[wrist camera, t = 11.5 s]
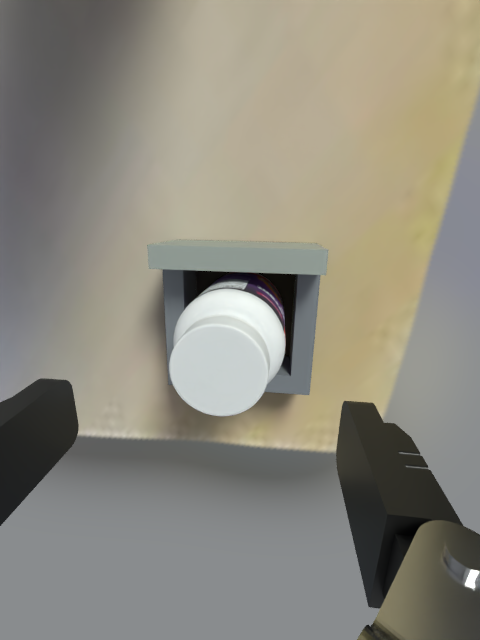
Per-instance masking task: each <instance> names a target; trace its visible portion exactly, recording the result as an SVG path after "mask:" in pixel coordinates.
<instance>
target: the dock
mask: <svg viewBox="0 0 480 640" xmlns="http://www.w3.org/2000/svg"><path fill="white" fill-rule="evenodd" d="M147 247H148V262H149V269H163V288H164V307H165V326H166V346H167V365H168V384H169V385H173V384H172V381H171V377H170V372H169V362H170V357H171V353H172V350H173V348H174V343H173V339H174V331H175V327H176V324H177V321H178V319H179V317H180V316H181V314H182V312H183V311H184V310H185V309H186V307H187V306H188V305H189V304H190V303H191V302H192V301H193V300H194V299H195V298H196V270H197V271H224V272H252V273H280V274H295V281H294V296H293V310H292V325H291V339H290V354H289V356H284V358H283V362H282V364H281V367H280V369H279V371H278V372H277V374H276V375H275V377H274V378H273V379H272V380H271V381H270V382H269V383H268V384H267V386H266V389H265V391H264V392H274V393H287V394H301V395H309V393H310V383H311V372H312V361H313V350H314V339H315V328H316V317H317V306H318V295H319V284H320V275H326V270H327V259H328V249H326V248H324V247H322V246H321V245H319V244H317V243H291V242H252V241H214V240H172V241H166V242H161V243H155V244H149V245H147Z"/></svg>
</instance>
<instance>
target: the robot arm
mask: <svg viewBox="0 0 480 640" xmlns="http://www.w3.org/2000/svg"><path fill="white" fill-rule="evenodd" d="M77 434H78V419H77V413H76V407H75V401H74V395H73V389H72V385H71V384H70V382H69V381H67V380H57V379H39V380H37V381H35V382H34V383H32V384H31V385H29V386H28V387H26V388H25V389H24V390H22V391H21V392H19V393H18V394H16V395H15V396H13V397H12V398H9V399H7V400H5V401H2V402H0V526H1V524H2V523H3V522H4V521H5V520H6V519H7V518H8V517H9V516H10V514H11V513H12V512H13V511H14V510H15V509H16V508H17V507H18V506H19V505H20V503H21V502H22V501H23V500H24V499H25V498H26V497H27V496H28V494H29V493H30V492H31V491H32V490H33V489H34V488H35V487H36V486H37V484H38V483H39V482H40V481H41V480H42V479H43V478H44V477H45V475H46V474H47V473H48V472H49V471H50V470H51V469H52V468H53V467H54V465H55V464H56V463H57V462H58V461H59V460H60V459H61V458H62V456H63V455H64V454H65V453H66V452H67V451H68V450H69V449H70V448H71V446H72V445H73V444H74V442H75V440H76V437H77ZM336 457H337V459H336V460H337V470H338V475H339V479H340V484H341V488H342V493H343V497H344V502H345V506H346V510H347V514H348V519H349V523H350V528H351V532H352V536H353V541H354V545H355V550H356V554H357V558H358V562H359V566H360V571H361V575H362V579H363V584H364V589H365V593H366V597H367V602H368V606H369V607H373V608H380V610H379V613H378V615H377V617H376V619H375V621H374V622H373V624H372V625H371V627H370V626H369V625H366V627H365V628H364V629H363V630H362V632H361V634H360V635H359V637H358V639H357V640H480V534H478V533H476V532H475V531H473V530H471V529H469V528H467V527H465V526H463V524H462V523H461V521H460V519H459V518H458V516H457V514H456V513H455V511H454V509H453V507H452V506H451V504H450V503H449V501H448V499H447V497H446V496H445V494H444V492H443V491H442V489H441V487H440V486H439V484H438V482H437V481H436V479H435V477H434V475H433V474H432V472H431V471H430V470H428V465H427V464H426V462H425V460H424V459H423V457H422V456H420V452H419V450H418V449H417V447H416V445H415V443H414V442H413V440H412V438H411V437H410V436H409V435H407V434H406V433H405V432H404V431H403V430H402V429H400V428H399V427H398V426H397V425H396V424H394V423H384V422H383V420H382V418H381V416H380V414H379V413H378V411H377V409H376V407H375V405H374V404H373V403H367V402H353V401H344V402H343V405H342V411H341V419H340V426H339V434H338V442H337V452H336Z"/></svg>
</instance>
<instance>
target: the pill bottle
mask: <svg viewBox="0 0 480 640" xmlns="http://www.w3.org/2000/svg"><path fill="white" fill-rule="evenodd" d="M173 343H174V348H173V350H172V353H171V357H170V362H169V372H170V377H171V381H172V384H173V386H174V388H175V390H176V391H177V393H178V394H179V396H180V397H181V398H182V399H183V400H184V401H185V402H186V403H187V404H189V405H190V406H191V407H193V408H194V409H196V410H198V411H200V412H203V413H205V414H209V415H213V416H231V415H236V414H239V413H241V412H244V411H246V410H248V409H249V408H251V407H252V406H253V405H254V404H255V403H256V402H257V401H258V400H259V399H260V398H261V396H262V395H263V393H264V391H265V389H266V386H267V384H268V383H269V382H270V381H271V380H272V379H273V378H274V377H275V375H276V374H277V372H278V371H279V369H280V367H281V364H282V362H283V358H284V354H285V346H286V338H285V316H284V305H283V301H282V298H281V296H280V293H279V292H278V290H277V288H276V287H275V286H274V285H273V283H272V282H270V281H269V280H268V279H267V278H265V277H264V276H262V275H260V274H258V273H252V272H231V273H228V274H226V275H224V276H222V277H220V278H219V279H217V280H216V281H215V282H214V283H213V284H211V285H210V286H209V287H208V288H207V289H206V290H205V291H203V292H202V293H201V294H200V295H199V296H198V297H197V298H195V299H194V300H193V301H192V302H191V303H190V304H189V305H188V306H187V307H186V309H185V310H184V311H183V312H182V314H181V316H180V317H179V319H178V321H177V324H176V327H175V331H174V339H173Z"/></svg>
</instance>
